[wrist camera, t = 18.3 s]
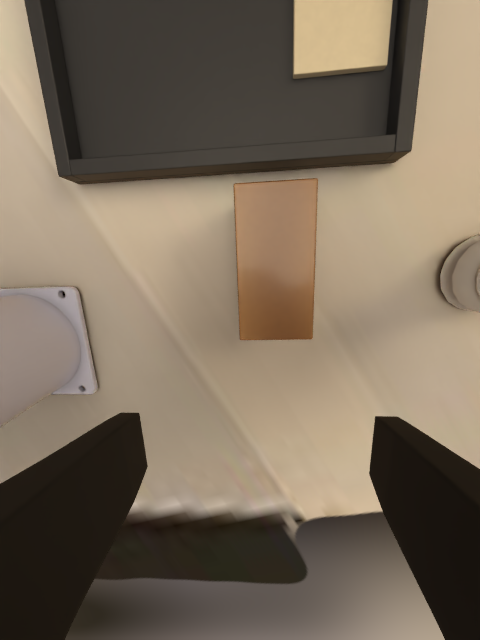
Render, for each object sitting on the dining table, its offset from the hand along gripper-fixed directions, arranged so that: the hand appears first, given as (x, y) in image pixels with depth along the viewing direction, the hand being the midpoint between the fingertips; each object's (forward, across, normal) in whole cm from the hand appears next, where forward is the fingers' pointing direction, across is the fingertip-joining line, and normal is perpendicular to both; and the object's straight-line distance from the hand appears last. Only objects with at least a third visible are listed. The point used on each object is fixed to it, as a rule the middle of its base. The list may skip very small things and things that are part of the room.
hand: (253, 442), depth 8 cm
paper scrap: (+9, -4, -16) cm, 19 cm away
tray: (+10, +2, -16) cm, 19 cm away
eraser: (+10, -1, -5) cm, 11 cm away
